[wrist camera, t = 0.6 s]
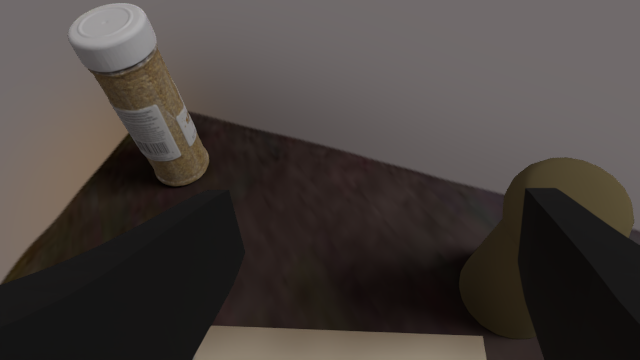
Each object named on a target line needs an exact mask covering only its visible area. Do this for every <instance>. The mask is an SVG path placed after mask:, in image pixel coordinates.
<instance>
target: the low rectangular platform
mask: <svg viewBox="0 0 640 360" xmlns="http://www.w3.org/2000/svg"><path fill="white" fill-rule="evenodd" d="M194 360H486V354H485V348H484V342H483V336H463V335H438V334H412V333H386V332H360V331H334V330H308V329H283V328H257V327H231V326H211V327H210V328H209V330H208V332H207V334H206V336H205V337H204V339H203V341H202V343H201V345H200V346H199V348H198V350H197V352H196V354H195V358H194Z"/></svg>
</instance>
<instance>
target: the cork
mask: <svg viewBox="0 0 640 360" xmlns="http://www.w3.org/2000/svg"><path fill="white" fill-rule="evenodd" d="M525 188H557V189H559V190H560V191H562V192H563V193H565V194H566V195H568V196H569V197H571V198H572V199H573V200H575V201H576V202H578V203H579V204H580V205H582V206H583V207H584V208H586V209H587V210H589V211H590V212H591V213H593V214H594V215H596V216H597V217H598V218H600V219H601V220H603V221H604V222H605V223H607V224H608V225H610V226H611V227H613V228H614V229H616V230H617V231H619V232H620V233H621V234H623V235H624V236H626V237H627V238H628V237H629V235H630V232H631V230H632V227H633V224H634V216H633V208H632V203H631V200H630V198H629V196H628V194H627V192H626V190H625V189H624V187H623V186H622V185H621V184H620V183H619V182H618V181H617V180H616V179H615V178H614V177H613V176H612V175H610V174H609V173H607V172H606V171H605V170H603V169H601V168H600V167H598V166H596V165H593V164H591V163H588V162H586V161H583V160H578V159H572V158H550V159H547V160H544V161H540V162H538V163H534V164H531V165H529V166H528V167H527V168H525V169H524V170H523V171H521V172H520V173H519V174H518V175H517V176H516V177H515V178H514V179H513V181H512V182H511V184H510V186H509V188H508V189H507V191H506V194H505V196H504V203H503V219H502V220H501V221H500V222H499V224H498V225H497V226H496V227H495V228H494V229H493V231H492V232H491V233H490V234H489V235H488V237H487V238H486V239H485V240H484V241H483V242H482V244H481V245H480V246H479V247H478V248H477V249H476V251H475V252H474V253H473V254H472V255H471V256H470V258H469V259H468V260H467V261H466V263H465V265H464V267H463V268H462V270H461V273H460V279H459V289H460V294H461V299H462V301H463V302H464V304H465V306H466V308H467V310H468V312H469V313H470V314H471V315H472V316H473V317H474V318H475V319H476V320H477V321H478V322H479V324H480V325H482V326H483V327H485V328H487V329H488V330H490V331H492V332H493V333H495V334H497V335H501V336H504V337H508V338H511V339H530V338H533V337H536V333H535V330H534V327H533V324H532V321H531V318H530V315H529V312H528V309H527V306H526V302H525V299H524V294H523V289H522V284H521V278H520V273H519V267H518V252H519V242H520V233H521V224H522V214H523V205H524V195H525Z"/></svg>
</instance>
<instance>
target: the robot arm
mask: <svg viewBox="0 0 640 360" xmlns="http://www.w3.org/2000/svg"><path fill="white" fill-rule="evenodd" d="M244 254H245V250H244V246H243V242H242V238H241V234H240V231H239V227H238V223H237V219H236V215H235V211H234V208H233V204H232V200H231V196H230V192H229V190H207V191H205V192H202V193H200V194H197V195H195V196H193V197H191V198H189V199H187V200H185V201H183V202H181V203H179V204H178V205H176V206H174V207H172V208H170V209H168V210H166V211H165V212H163V213H161V214H159V215H157V216H155V217H154V218H152V219H150V220H148V221H146V222H144V223H143V224H141V225H139V226H137V227H135V228H133V229H131V230H129V231H127V232H125V233H123V234H121V235H119V236H117V237H115V238H113V239H112V240H110V241H108V242H106V243H104V244H102V245H100V246H98V247H95V248H93V249H91V250H89V251H87V252H85V253H82V254H80V255H78V256H76V257H73V258H71V259H69V260H66V261H64V262H61V263H59V264H57V265H54V266H52V267H49V268H47V269H44V270H41V271H39V272H36V273H33V274H30V275H28V276H25V277H22V278H19V279H16V280H14V281H11V282H8V283H5V284H2V285H0V360H192V359H193V357H194V356H195V354H196V352H197V350H198V348H199V346H200V345H201V343H202V341H203V339H204V337H205V336H206V334H207V332H208V330H209V328H210V327H211V325H212V323H213V321H214V319H215V318H216V316H217V314H218V312H219V310H220V309H221V307H222V305H223V303H224V301H225V299H226V297H227V296H228V294H229V292H230V290H231V288H232V286H233V284H234V281H235V279H236V276H237V274H238V271H239V269H240V266H241V263H242V260H243V257H244ZM518 267H519V273H520V278H521V284H522V289H523V294H524V299H525V302H526V306H527V309H528V312H529V315H530V318H531V321H532V324H533V327H534V330H535V333H536V336H537V339H538V342H539V345H540V348H541V351H542V354H543V357H544V359H545V360H640V245H638V244H637V243H635V242H634V241H632V240H630V239H629V238H627V237H626V236H624V235H623V234H621V233H620V232H619V231H617V230H616V229H614V228H613V227H611V226H610V225H608V224H607V223H605V222H604V221H603V220H601V219H600V218H598V217H597V216H596V215H594V214H593V213H591V212H590V211H589V210H587V209H586V208H584V207H583V206H582V205H580V204H579V203H578V202H576V201H575V200H573V199H572V198H571V197H569V196H568V195H566V194H565V193H563V192H562V191H560V190H559V189H557V188H525V195H524V205H523V214H522V224H521V233H520V242H519V252H518Z"/></svg>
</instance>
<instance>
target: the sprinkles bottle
mask: <svg viewBox="0 0 640 360" xmlns="http://www.w3.org/2000/svg"><path fill="white" fill-rule="evenodd" d="M68 39H69V42H70V44H71V45H72V47H73V49H74V50H75V52H76V54H77V56H78V57H79V58H80V60H81V62H82V63H83V64H84V65H85V66H86V67H87V68H88V70H89V71H90V72H91V73H93V74H94V76H95V78H96V80H97V81H98V82H99V84H100V86H101V87H102V89H103V90H104V92H105V94H106V95H107V97H108V99H109V101H110V104H111V105H112V106H113V108H114V110H115V111H116V113H117V115H118V116H119V118H120V119H121V121H122V122H123V124H124V125H125V127H126V129H127V130H128V132H129V133H130V135H131V136H132V138H133V140H134V141H135V143H136V144H137V146H138V147H139V149H140V150H141V152H142V153H143V154H144V155H145V156H146V157H147V159H148V161H149V162H150V164H151V165H152V166H153V168H154V171H155V174H156V177H157V178H158V179H159V180H160V181H161V182H162V183H164V184H166V185H171V186H183V185H187V184H190V183H192V182H194V181H196V180H197V179H199V178H200V177H201V176H202V175H203V174H204V173H205V171H206V169H207V166H208V164H209V155H208V153H207V151H206V149H205V148H204V147H203V145H202V143H201V141H200V139H199V137H198V134H197V132H196V128H195V126H194V124H193V122H192V120H191V117H190V115H189V113H188V111H187V109H186V107H185V105H184V103H183V101H182V98H181V96H180V94H179V92H178V90H177V88H176V85H175V84H174V82H173V80H172V79H171V77H170V74H169V73H168V70H167V67H166V65H165V63H164V61H163V59H162V57H161V55H160V52H159V50H158V48H157V44H156V35H155V33H154V31H153V29H152V26H151V24H150V22H149V20H148V18H147V16H146V14H145V12H144V11H143V10H142V9H141V8H139V7H138V6H135V5H132V4H128V3H114V4H108V5H104V6H100V7H97V8H95V9H92V10H90V11H88V12H86V13H85V14H83V15H82V16H80V17H79V18H78V19H76V20H75V21H74V23H73V24H72V25H71V27H70V28H69V31H68Z"/></svg>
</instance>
